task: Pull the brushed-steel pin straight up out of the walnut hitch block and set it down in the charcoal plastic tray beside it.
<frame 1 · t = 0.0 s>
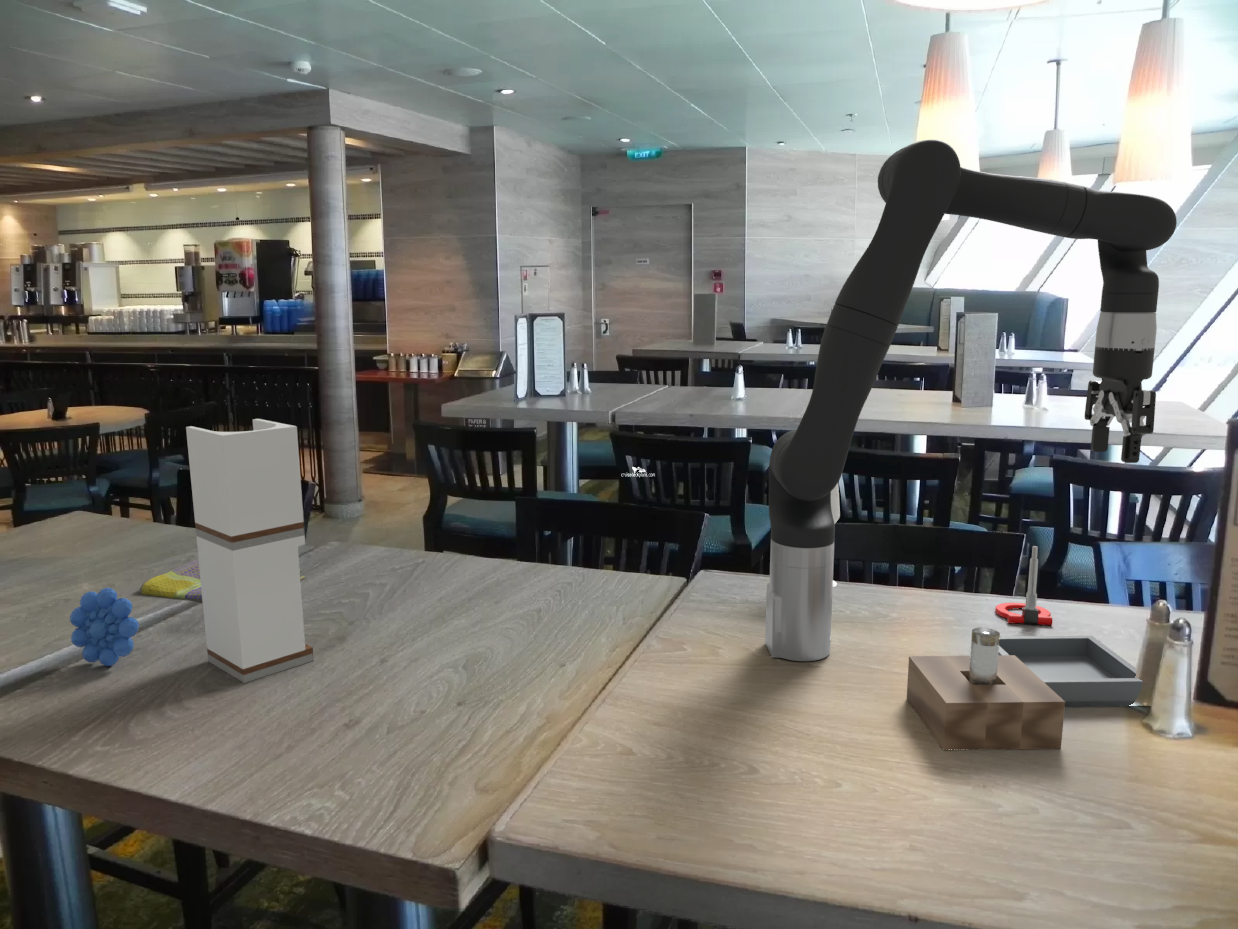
hand: (1113, 456, 137), 29 cm above the table, fingers open, 8 cm apart
pin: (982, 677, 118), in the hitch block
champagne flute: (818, 584, 174), on the table
tow hook: (1022, 617, 156), on the table
hitch block: (979, 722, 119), on the table
blue beaded flower: (113, 664, 139), on the table
white open tower: (261, 662, 139), on the table
dish towel: (223, 588, 175), on the table
tray: (1060, 681, 131), on the table
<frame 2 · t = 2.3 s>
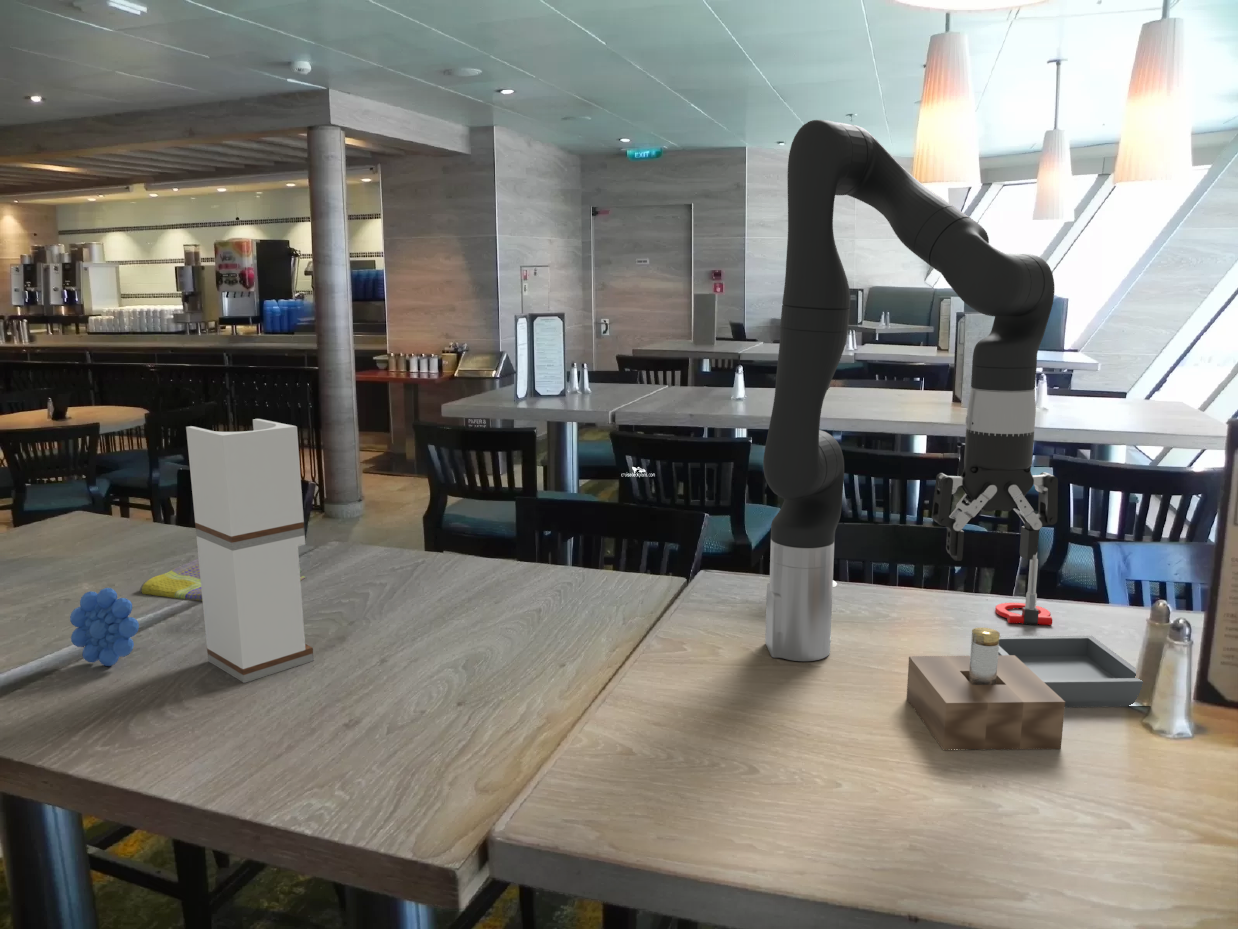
hand: (991, 558, 115), 21 cm above the table, fingers open, 8 cm apart
nothing on the table moved.
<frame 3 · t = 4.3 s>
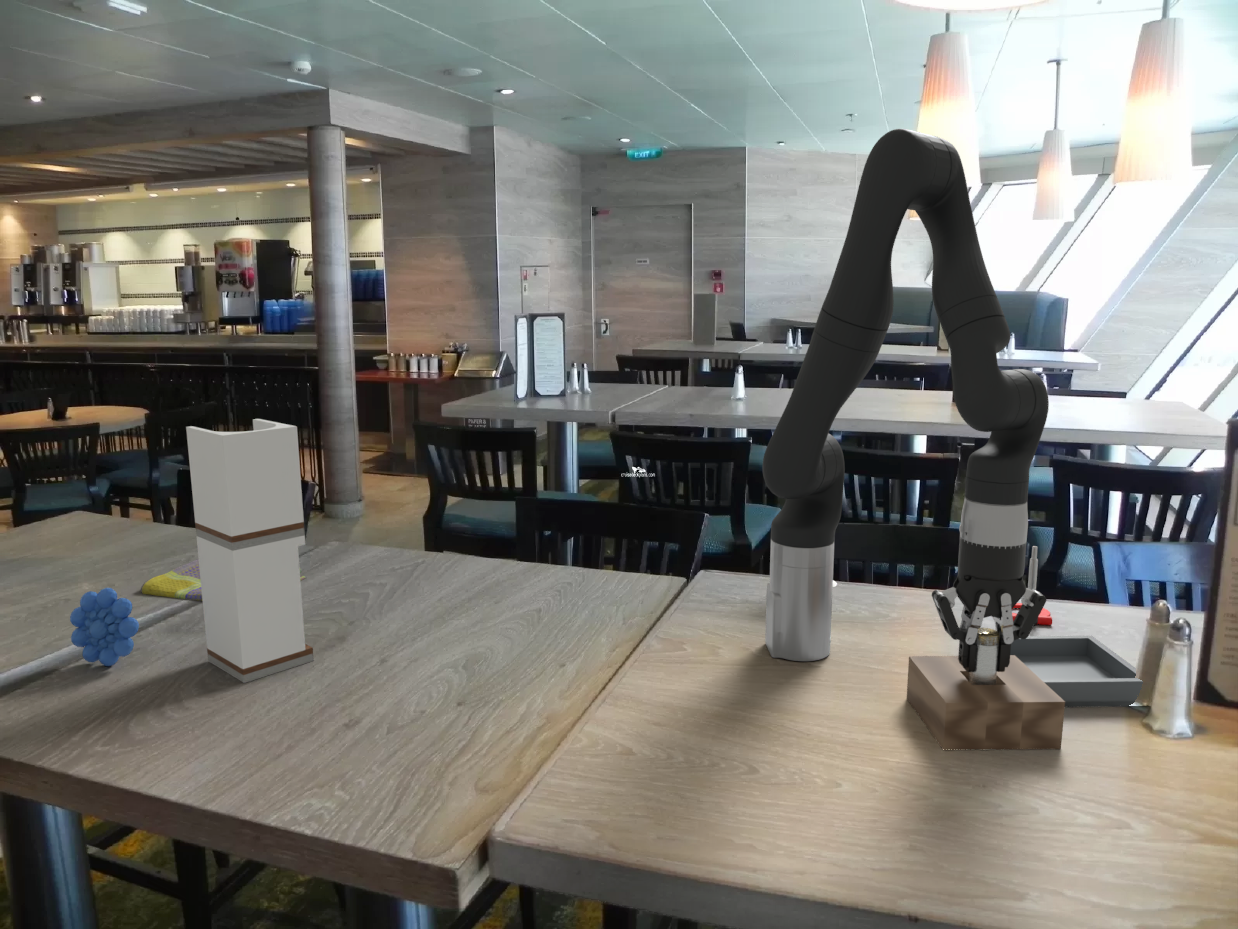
hand: (983, 669, 117), 7 cm above the table, fingers closed on pin, 3 cm apart
pin: (982, 677, 118), in the hitch block, touching gripper
everything else where it was.
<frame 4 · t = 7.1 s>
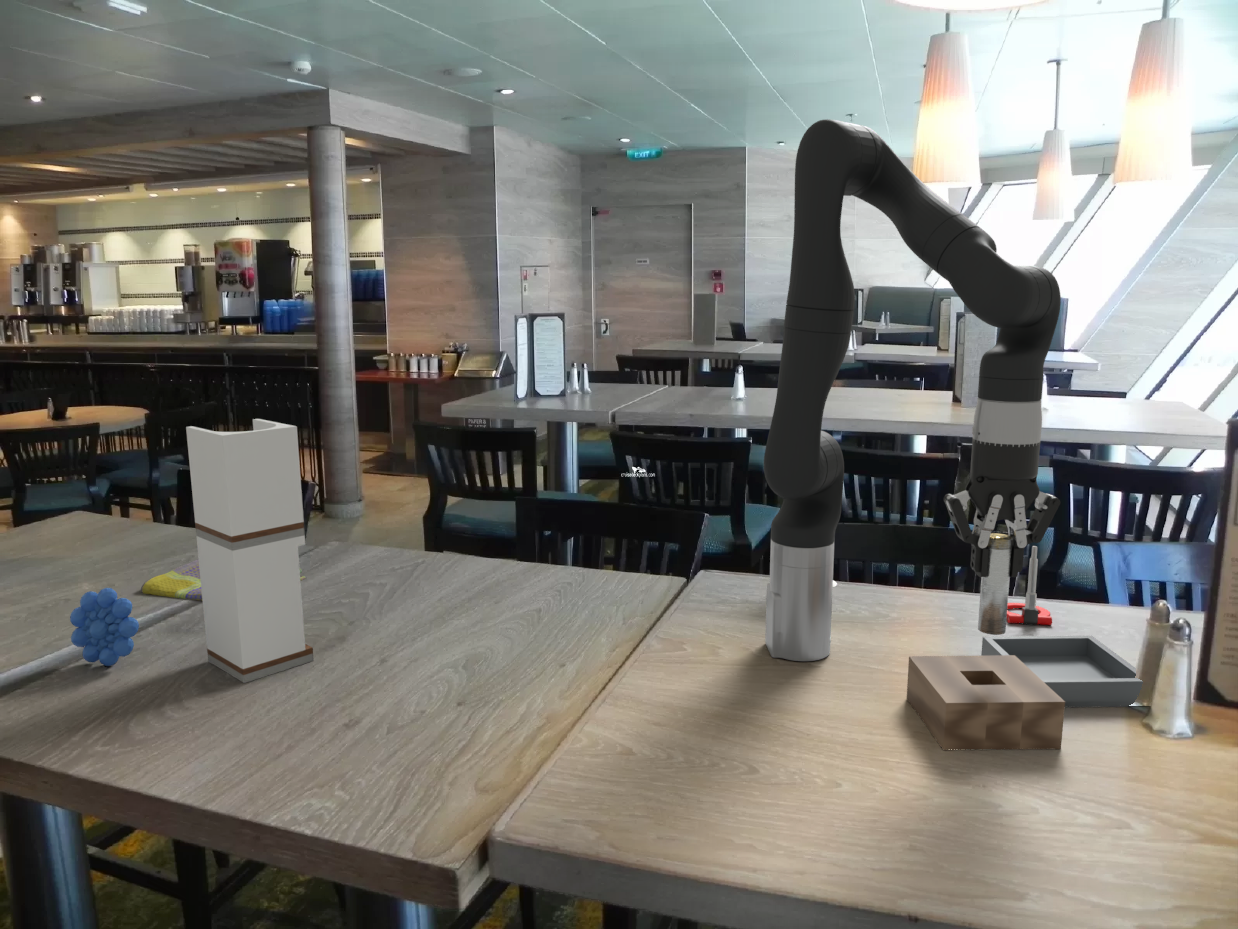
hand: (996, 574, 116), 19 cm above the table, fingers closed on pin, 3 cm apart
pin: (995, 583, 116), point 18 cm above the table, touching gripper
everything else where it was.
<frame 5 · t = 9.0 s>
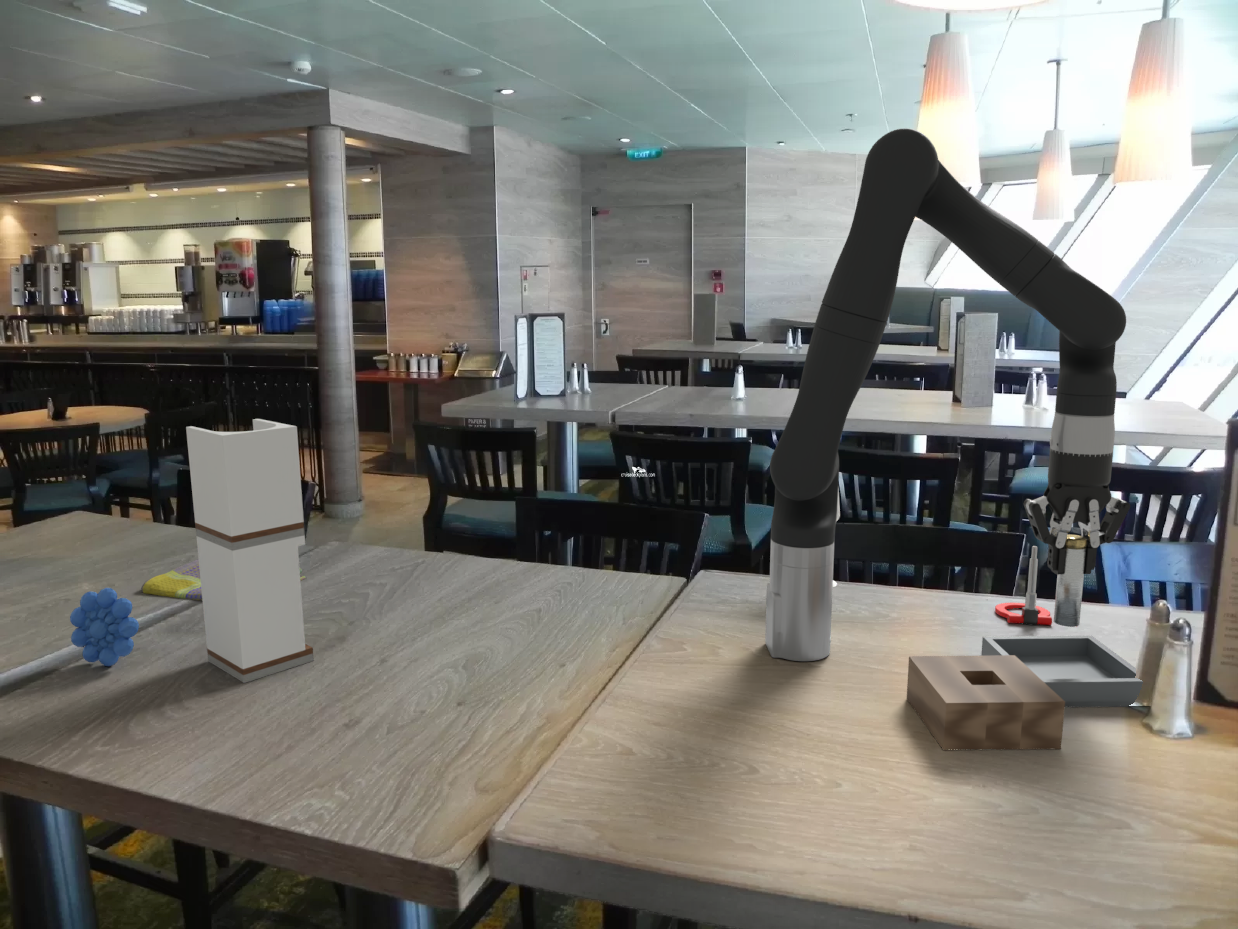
hand: (1070, 572, 128), 16 cm above the table, fingers closed on pin, 3 cm apart
pin: (1070, 580, 128), point 15 cm above the table, touching gripper
everything else where it was.
when the fingers open (10 cm above the table, at t = 10.3 s): pin drops 2 cm, resting on tray.
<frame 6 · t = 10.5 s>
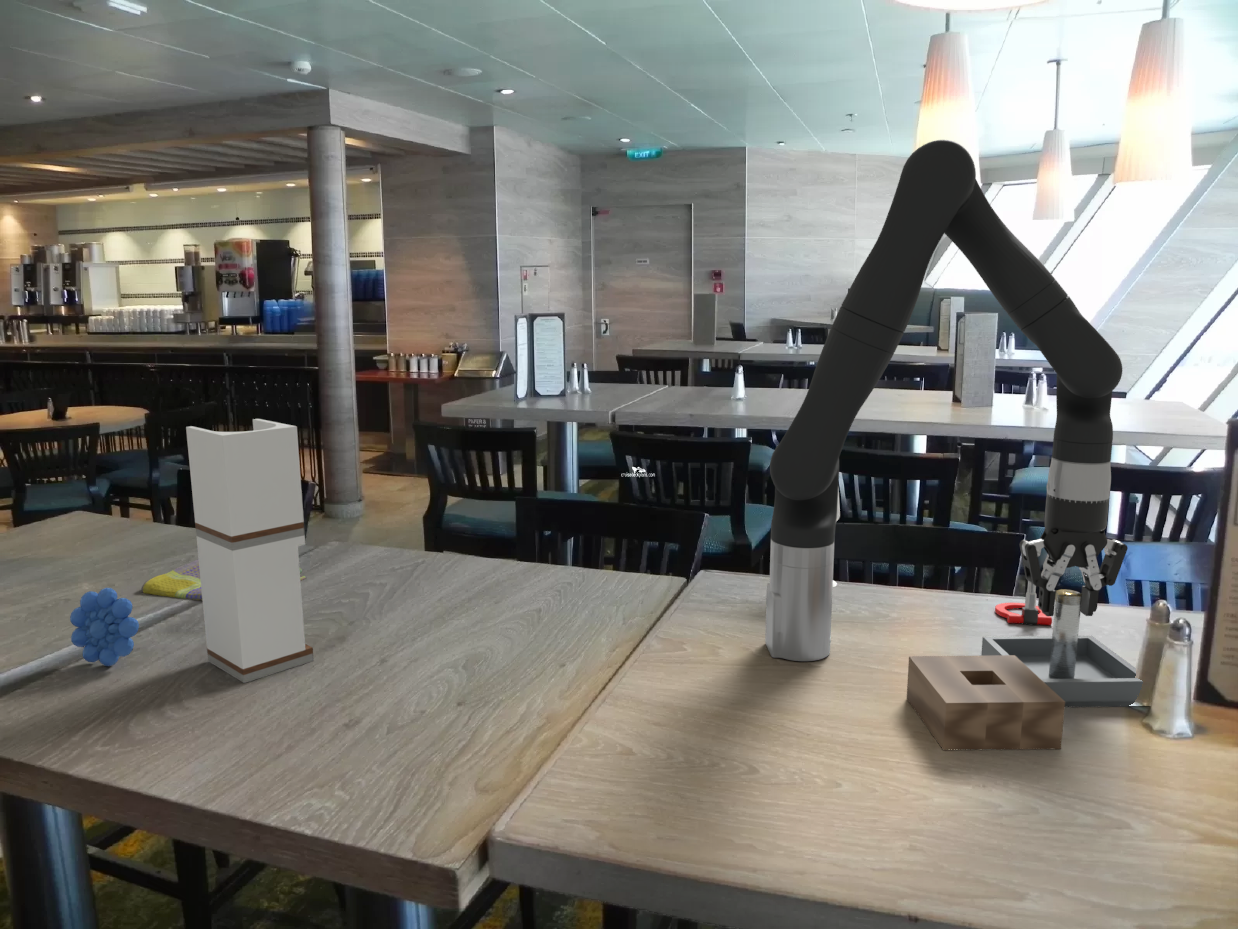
hand: (1067, 613, 129), 10 cm above the table, fingers open, 4 cm apart
pin: (1065, 635, 129), in the tray, point 7 cm above the table
everything else where it was.
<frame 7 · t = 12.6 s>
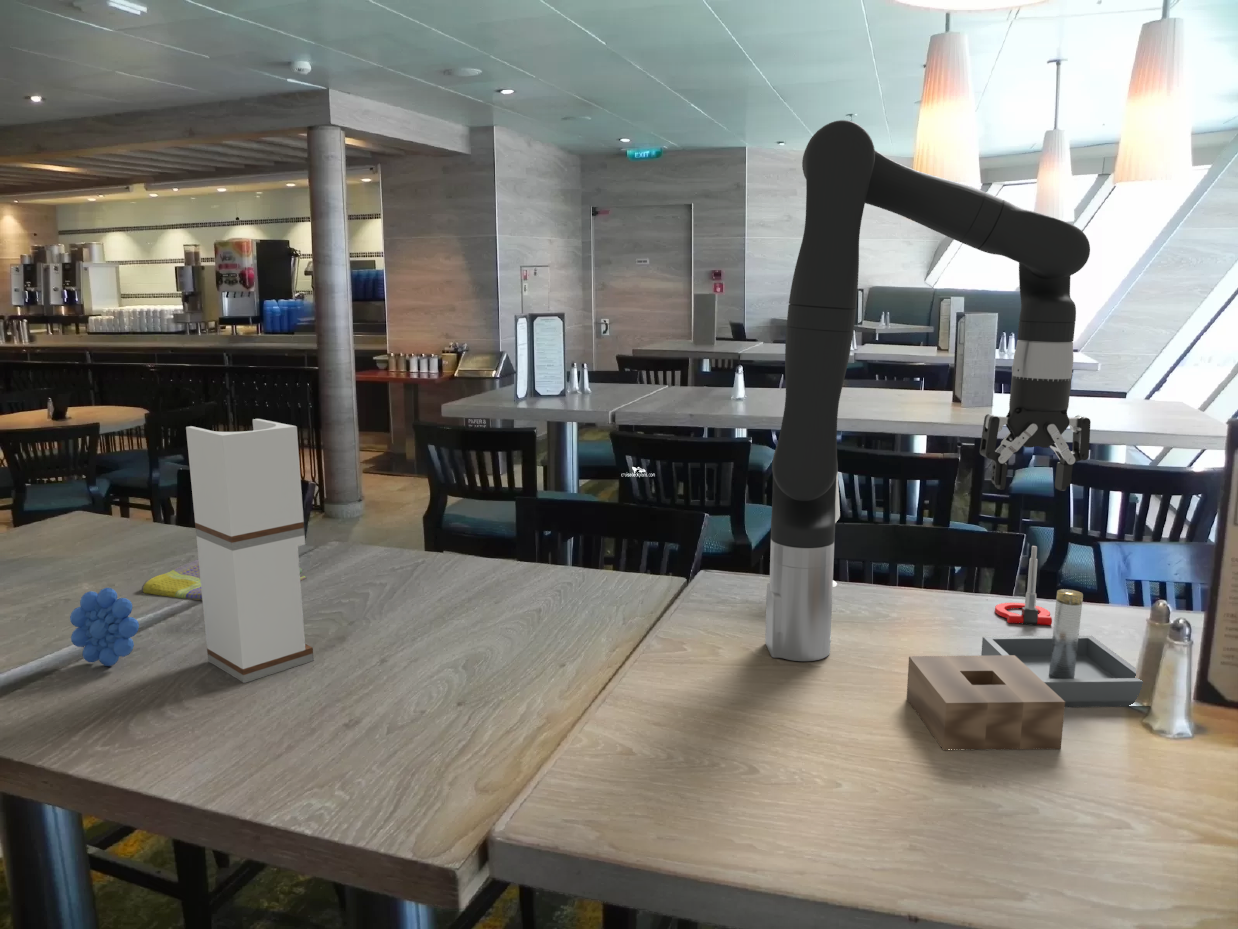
hand: (1030, 488, 133), 26 cm above the table, fingers open, 8 cm apart
nothing on the table moved.
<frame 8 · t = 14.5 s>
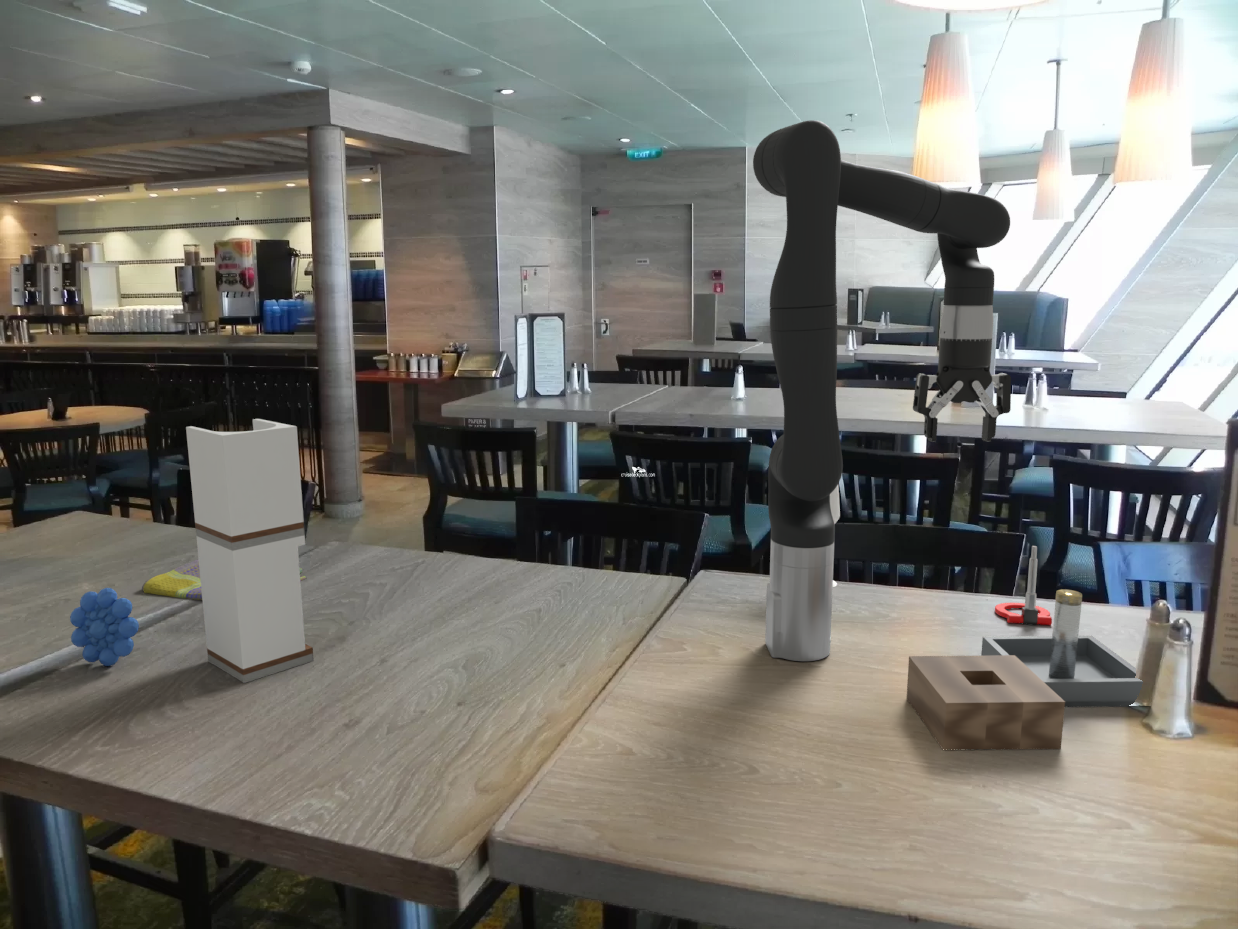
hand: (959, 440, 146), 30 cm above the table, fingers open, 8 cm apart
nothing on the table moved.
at the end: pin inside the target area on the tray (0.0 cm from its centre), point 6.8 cm above the tray's base; the gripper is holding nothing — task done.
